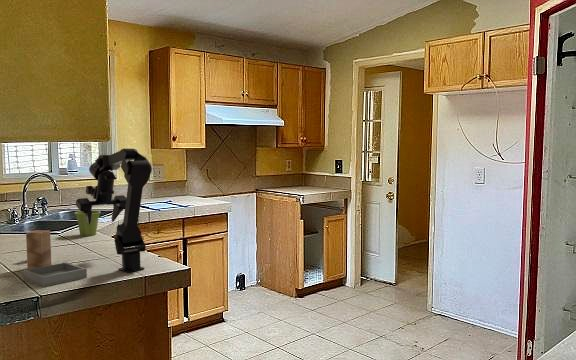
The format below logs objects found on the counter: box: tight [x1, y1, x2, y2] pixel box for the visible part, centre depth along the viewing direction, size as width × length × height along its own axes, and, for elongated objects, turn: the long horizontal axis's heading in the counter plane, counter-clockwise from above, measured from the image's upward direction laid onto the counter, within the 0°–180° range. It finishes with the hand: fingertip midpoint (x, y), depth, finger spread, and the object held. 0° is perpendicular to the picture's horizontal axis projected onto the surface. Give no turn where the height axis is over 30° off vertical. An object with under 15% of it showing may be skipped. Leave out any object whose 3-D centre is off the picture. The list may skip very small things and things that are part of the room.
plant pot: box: [74, 210, 101, 237], centre depth 240 cm, size 12×12×11 cm
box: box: [23, 261, 88, 288], centre depth 161 cm, size 14×14×3 cm
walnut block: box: [25, 229, 52, 269], centre depth 175 cm, size 6×6×13 cm
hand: (100, 222), depth 191 cm, fingers open, 9 cm apart
